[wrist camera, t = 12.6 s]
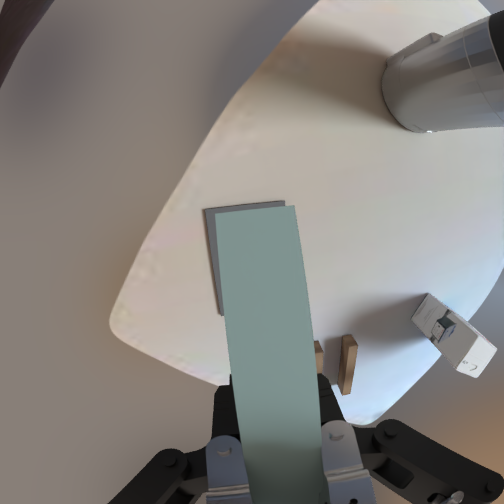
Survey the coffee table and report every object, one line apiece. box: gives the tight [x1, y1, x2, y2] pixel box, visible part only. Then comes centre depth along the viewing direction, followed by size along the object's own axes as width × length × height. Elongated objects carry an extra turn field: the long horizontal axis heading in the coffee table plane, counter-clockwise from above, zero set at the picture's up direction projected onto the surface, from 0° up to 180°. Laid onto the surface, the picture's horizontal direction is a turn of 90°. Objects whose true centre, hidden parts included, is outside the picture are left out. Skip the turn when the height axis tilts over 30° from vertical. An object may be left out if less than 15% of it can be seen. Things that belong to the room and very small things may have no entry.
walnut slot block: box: [314, 335, 358, 396], centre depth 32 cm, size 9×6×2 cm, turn 6°
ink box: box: [411, 293, 497, 378], centre depth 27 cm, size 9×5×12 cm, turn 62°
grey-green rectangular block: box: [215, 205, 323, 504], centre depth 11 cm, size 7×2×12 cm
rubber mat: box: [205, 201, 285, 316], centre depth 29 cm, size 12×8×1 cm, turn 6°
